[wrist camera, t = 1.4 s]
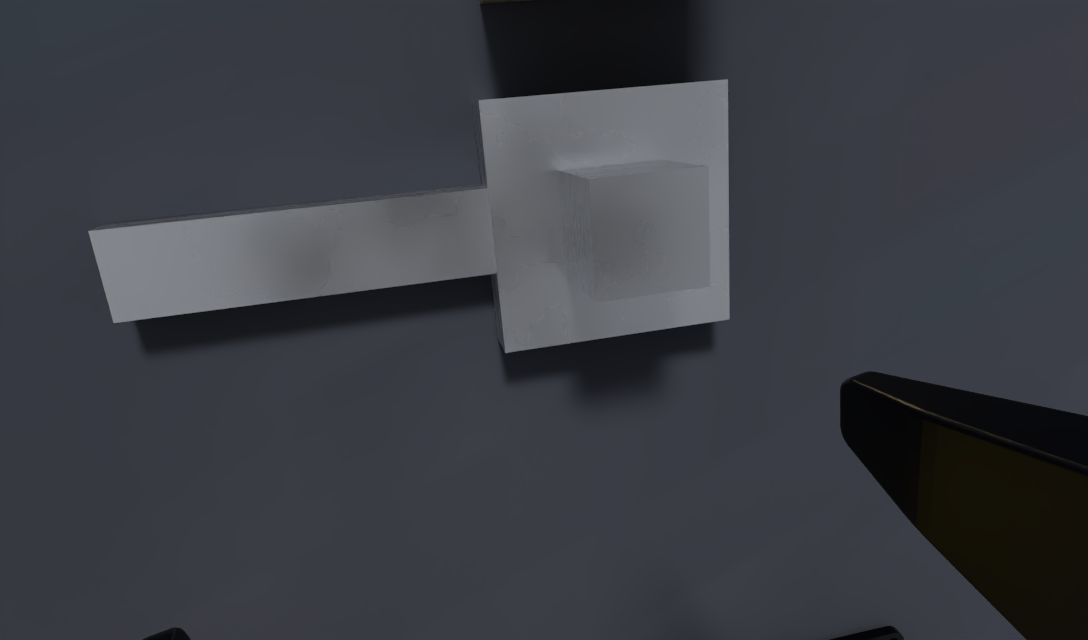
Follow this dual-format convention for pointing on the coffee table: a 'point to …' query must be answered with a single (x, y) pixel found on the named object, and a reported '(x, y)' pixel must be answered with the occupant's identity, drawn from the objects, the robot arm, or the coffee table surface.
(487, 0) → the brushed brass cube
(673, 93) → the hammer
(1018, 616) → the robot arm
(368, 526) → the coffee table surface
